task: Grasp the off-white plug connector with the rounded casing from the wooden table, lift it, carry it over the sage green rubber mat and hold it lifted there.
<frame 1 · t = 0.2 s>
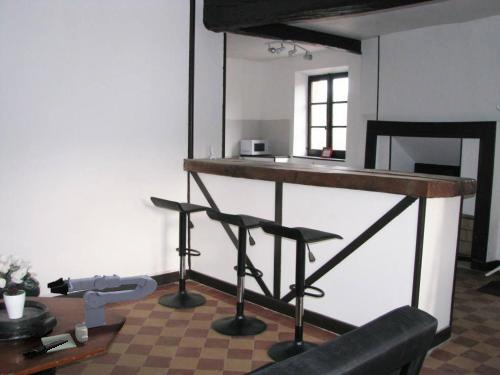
hand: (48, 288, 232), 21 cm above the table, tool horizontal, fingers open, 7 cm apart
end cap: (44, 333, 233), on the table
connector: (81, 338, 228), on the table
mat: (58, 343, 222), on the table
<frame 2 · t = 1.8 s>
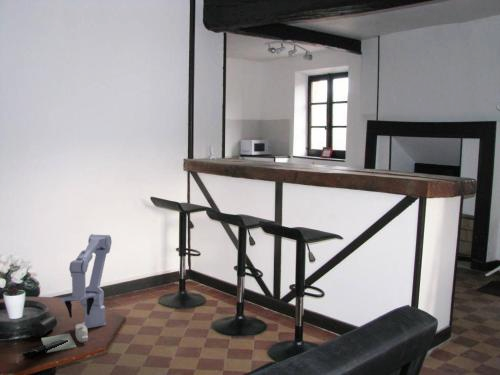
hand: (79, 315, 229), 10 cm above the table, tool pointing down, fingers open, 7 cm apart
nothing on the table moved.
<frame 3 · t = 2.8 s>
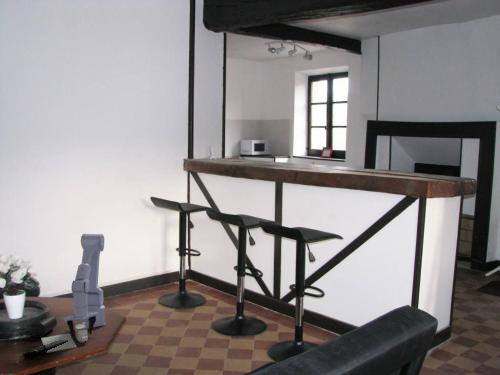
hand: (81, 335, 228), 1 cm above the table, tool pointing down, fingers open, 7 cm apart
nothing on the table moved.
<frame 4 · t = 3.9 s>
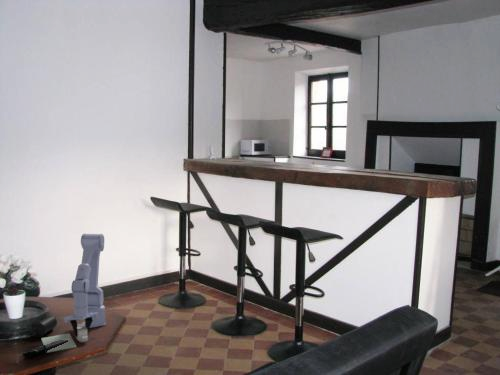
hand: (81, 335, 228), 1 cm above the table, tool pointing down, fingers closed on connector, 4 cm apart
connector: (81, 338, 228), on the table, touching gripper
everything else where it was.
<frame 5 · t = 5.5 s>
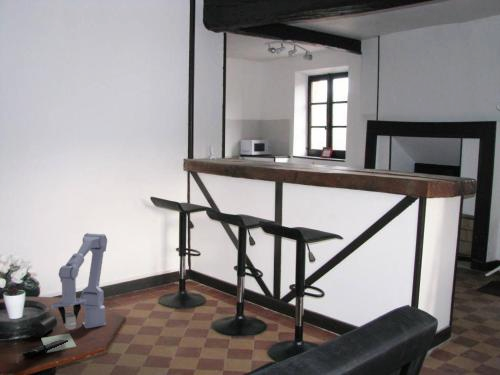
hand: (69, 322, 224), 8 cm above the table, tool pointing down, fingers closed on connector, 4 cm apart
connector: (69, 325, 224), point 7 cm above the table, touching gripper
everything else where it was.
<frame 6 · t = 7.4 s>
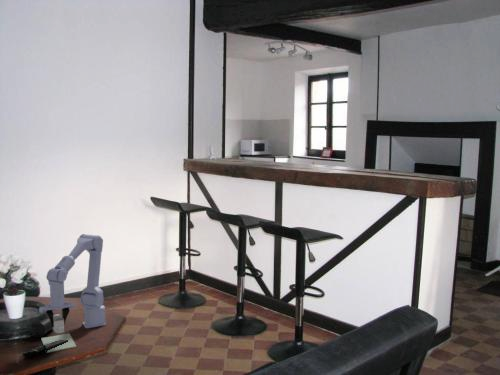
hand: (58, 325, 221), 8 cm above the table, tool pointing down, fingers closed on connector, 4 cm apart
connector: (58, 329, 221), point 6 cm above the table, touching gripper
everything else where it was.
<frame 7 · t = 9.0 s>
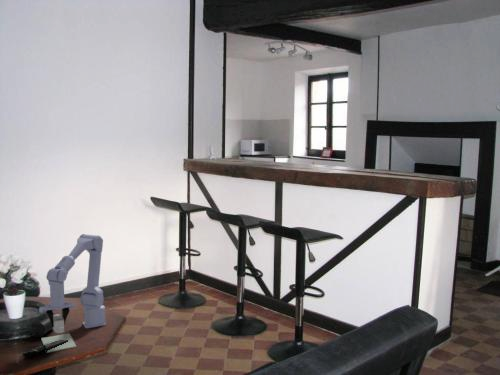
hand: (58, 325, 221), 8 cm above the table, tool pointing down, fingers closed on connector, 4 cm apart
connector: (58, 329, 221), point 6 cm above the table, touching gripper
everything else where it was.
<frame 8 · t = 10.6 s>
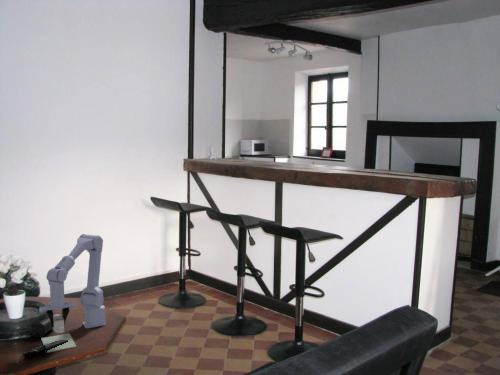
hand: (58, 325, 221), 8 cm above the table, tool pointing down, fingers closed on connector, 4 cm apart
connector: (58, 329, 221), point 6 cm above the table, touching gripper
everything else where it was.
at the end: the gripper is holding connector; connector point 6.4 cm above the table; connector inside the target area (0.1 cm from its centre), point 6.4 cm above the table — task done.
